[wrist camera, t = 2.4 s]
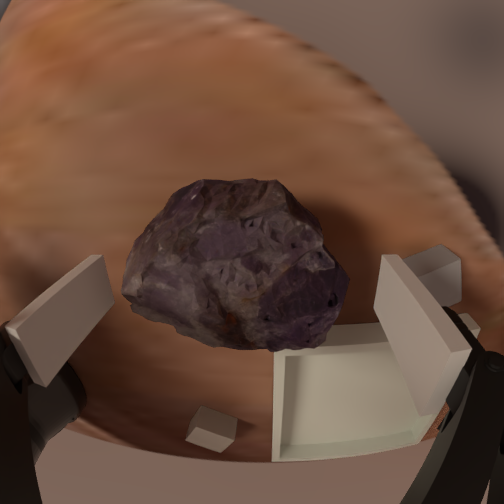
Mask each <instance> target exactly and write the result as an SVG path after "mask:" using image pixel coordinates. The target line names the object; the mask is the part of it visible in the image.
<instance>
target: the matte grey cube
mask: <svg viewBox="0 0 504 504" xmlns="http://www.w3.org/2000/svg"><path fill="white" fill-rule="evenodd" d="M237 420H238V418H235V417H232V416H229V415H226V414H224V413H221V412H218V411H216V410H213V409H210V408H208V407H205V406H203V405H201V407H200V408H199V409H198V411H197V412H196V413H195V415H194V416H193V417H192V419H191V420H190V424H189V428H188V431H187V435H186V439H185V441H188V442H191V443H193V444H196V445H199V446H202V447H205V448H207V449H210V450H213V451H217V452H220V453H221V452H222V451H223V450H225V449H226V448H227V447H228V446H229V445H230V444H231V443H232V442H233V441H235V435H236V428H237Z"/></svg>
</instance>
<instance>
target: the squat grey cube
mask: <svg viewBox="0 0 504 504" xmlns="http://www.w3.org/2000/svg"><path fill="white" fill-rule="evenodd" d="M402 260H403V262H404V263H405V264H406V265H407V266H408V267H409V268H410V270H411V271H412V272H413V273H414V274H415V275H416V277H417V278H418V279H419V280H420V281H421V283H422V284H423V285H424V286H425V287H426V289H427V290H428V291H429V292H430V293H431V295H432V296H433V297H434V298H435V300H436V301H437V302H438V303H439V305H440V306H441V307H442V306H447V307H449V306H452V305H454V304H456V303H458V302H460V301H462V283H461V259H460V258H459V257H458V256H456V255H455V254H454V253H452V252H451V251H450V250H449V249H447V248H446V247H445V246H443V245H442V244H440V245H437V246H435V247H432V248H430V249H427V250H425V251H422V252H420V253H417V254H415V255H412V256H410V257H407V258H405V259H402Z"/></svg>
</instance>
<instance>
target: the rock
mask: <svg viewBox="0 0 504 504" xmlns="http://www.w3.org/2000/svg"><path fill="white" fill-rule="evenodd" d="M349 280H350V279H349V277H348V275H347V274H346V272H345V271H344V270H343V268H342V267H341V266H340V265H339V263H338V262H337V261H336V260H335V258H334V256H332V255H331V254H330V252H329V251H328V250H327V248H326V247H325V246H324V245H323V234H322V228H321V226H320V223H319V221H318V219H317V218H316V217H315V216H314V215H313V214H312V213H311V212H309V211H308V210H307V209H305V208H304V207H303V206H302V205H301V204H300V203H299V202H298V201H297V200H296V198H295V197H294V196H293V195H292V193H291V192H289V191H288V190H287V189H286V188H285V186H284V185H282V184H281V183H280V182H279V181H277V180H270V181H259V180H256V179H253V178H252V179H242V180H234V181H223V180H207V179H203V180H198V181H196V182H194V183H192V184H190V185H188V186H186V187H183V188H181V189H179V190H178V191H176V192H175V193H173V195H172V196H171V197H170V198H169V200H168V202H167V204H166V206H165V207H164V209H163V210H162V211H161V212H160V213H159V214H158V215H157V216H156V217H155V218H154V219H153V220H152V221H151V222H150V223H149V225H148V226H147V227H146V228H145V230H144V232H143V233H142V234H141V235H140V236H139V237H138V238H137V239H136V240H135V242H134V245H133V247H132V250H131V252H130V254H129V256H128V258H127V262H126V270H125V272H124V275H123V284H122V288H121V294H122V295H123V296H124V297H125V298H126V299H127V300H128V301H130V302H131V303H132V305H130V306H131V309H132V312H134V313H137V314H140V315H141V316H143V317H144V318H146V319H148V320H151V321H154V322H162V323H166V324H170V325H173V326H174V327H175V328H176V331H177V333H179V334H181V335H184V336H188V337H191V338H194V339H196V340H198V341H200V342H202V343H203V344H206V345H208V346H211V347H227V348H232V349H237V350H256V349H268V350H269V351H270V352H278V351H281V350H284V349H291V350H301V349H304V348H312V349H315V348H317V347H318V346H320V345H321V344H322V343H323V342H325V341H326V337H327V333H328V331H329V330H330V328H331V327H332V325H333V324H334V322H335V320H336V319H337V317H338V315H339V312H340V310H341V308H342V305H343V302H344V298H345V295H346V291H347V287H348V284H349Z"/></svg>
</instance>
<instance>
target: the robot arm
mask: <svg viewBox="0 0 504 504" xmlns="http://www.w3.org/2000/svg"><path fill="white" fill-rule="evenodd" d="M114 303H115V301H114V297H113V294H112V290H111V286H110V282H109V278H108V274H107V270H106V266H105V261H104V257H103V255H91V256H89V257H88V258H87V259H85V260H84V261H83V262H81V263H80V264H79V265H77V266H76V267H75V268H73V269H72V270H71V271H69V272H68V273H67V274H66V275H64V276H63V277H62V278H61V279H59V280H58V281H57V282H56V283H54V284H53V285H52V286H51V287H49V288H48V289H47V290H46V291H44V292H43V293H42V294H41V295H40V296H38V297H37V298H36V299H35V300H34V301H32V302H31V303H30V304H29V305H28V306H27V307H25V308H24V309H23V310H22V311H21V312H20V313H19V314H17V315H16V316H15V317H14V318H13V319H12V320H11V321H7V322H4V323H3V324H2V325H1V326H0V504H42V500H41V496H40V491H39V487H38V482H37V477H36V472H35V464H36V462H37V460H38V458H39V456H40V454H41V452H42V450H43V449H44V447H45V445H46V444H47V442H48V441H49V440H50V439H51V438H52V437H54V436H55V435H56V434H57V433H59V432H60V431H61V430H62V429H63V428H64V427H65V426H66V425H67V424H68V423H71V422H73V421H75V420H76V419H77V418H78V417H79V416H80V414H81V412H82V410H83V409H84V407H85V405H86V394H85V391H84V388H83V386H82V384H81V382H80V380H79V379H78V377H77V376H76V374H75V373H74V371H73V370H72V368H71V367H70V366H69V365H68V363H67V362H66V361H67V360H68V359H69V357H70V356H71V355H72V354H73V352H74V351H75V350H76V349H77V347H78V346H79V345H80V344H81V342H82V341H83V340H84V339H85V338H86V336H87V335H88V334H89V333H90V332H91V330H92V329H93V328H94V327H95V326H96V324H97V323H98V322H99V321H100V320H101V319H102V317H103V316H104V315H105V314H106V313H107V312H108V310H109V309H110V308H111V307H112V306H113V305H114ZM373 308H374V310H375V313H376V315H377V317H378V319H379V321H380V323H381V325H382V328H383V330H384V332H385V334H386V336H387V339H388V341H389V343H390V345H391V348H392V350H393V352H394V355H395V357H396V359H397V362H398V364H399V366H400V369H401V371H402V374H403V376H404V378H405V381H406V383H407V386H408V388H409V391H410V394H411V396H412V399H413V401H414V404H415V407H416V409H417V412H418V415H419V417H421V416H426V415H430V414H435V413H439V411H440V410H441V408H442V406H443V405H444V403H445V401H446V402H447V404H448V406H449V408H450V409H449V411H448V413H447V414H446V416H445V417H444V419H443V420H442V422H441V423H440V425H439V426H438V428H437V429H439V432H438V435H437V437H436V439H435V441H434V443H433V446H432V448H431V450H430V452H429V454H428V456H427V458H426V460H425V462H424V463H423V466H422V467H421V469H420V471H419V473H418V475H417V477H416V478H415V480H414V481H413V483H412V485H411V487H410V488H409V490H408V491H407V493H406V495H405V496H404V498H403V500H402V501H401V503H400V504H481V501H482V499H483V496H484V494H485V491H486V488H487V485H488V482H489V480H490V484H489V492H488V499H487V504H504V356H503V355H501V354H499V353H497V352H493V351H485V350H484V348H483V347H482V345H481V344H480V343H479V341H478V340H477V339H476V337H475V336H474V335H473V333H472V332H471V331H470V330H468V327H467V326H466V324H465V323H463V321H462V319H461V318H460V317H459V316H458V314H457V313H456V312H454V311H453V310H451V309H450V308H449V307H447V306H442V307H441V306H440V305H439V303H438V302H437V301H436V300H435V298H434V297H433V296H432V295H431V293H430V292H429V291H428V290H427V289H426V287H425V286H424V285H423V284H422V283H421V281H420V280H419V279H418V278H417V277H416V275H415V274H414V273H413V272H412V271H411V270H410V268H409V267H408V266H407V265H406V264H405V263H404V262H403V260H402V259H401V258H400V257H399V256H398V255H382V258H381V265H380V272H379V278H378V285H377V291H376V296H375V302H374V307H373Z"/></svg>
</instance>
